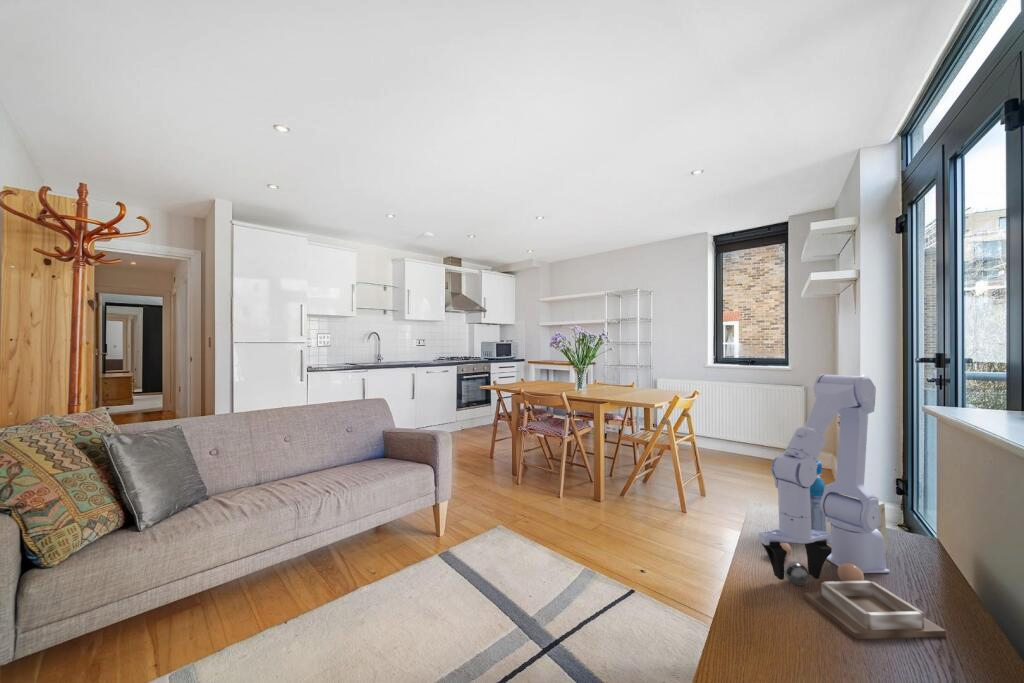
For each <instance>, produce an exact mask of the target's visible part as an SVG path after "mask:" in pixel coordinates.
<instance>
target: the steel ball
mask: <svg viewBox="0 0 1024 683" xmlns="http://www.w3.org/2000/svg"><path fill="white" fill-rule="evenodd" d="M784 577H785V578H786V579H787V580H788V581H789V582H791V583H792V584H794V585H797V586H804V585H805V584H807V583H808V581H809V579H810V574H809V571H808V568H806V567H805V566H804V565H803V564H802V563H801V562H799V561H788V562H787V563H785V564H784Z"/></svg>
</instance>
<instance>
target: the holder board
mask: <svg viewBox="0 0 1024 683" xmlns="http://www.w3.org/2000/svg"><path fill="white" fill-rule="evenodd" d="M820 583H821V591H814V592H811V591H810V592H804V599H806V600H807V601H808V602H809V603H811V604H812V605H813V606H814V607H816V608H817V609H818V610H819V611H820V612H821V613H823V614H824V615H825V616H827V617H828V618H829V619H830V620H832V621H833V622H834V623H835V624H837V626H839V627H840V628H841V629H842V630H843V631H845V632H847V633H848V635H850V636H851V637H853V638H854V639H855V640H867V639H906V638H907V639H909V638H910V639H911V638H912V639H913V638H942V637H943V638H944V637H945V638H946V637H947V630H945V629H944V628H943V627H941V626H939V625H937V624H936V623H934V622H933V621H932V620H929V619H928V618H927V617H924V616H925V614H924V613H925V612H924V611H922V610H920V609H919V608H917V607H915V606H913V605H912V604H910V603H909V602H908V601H906V600H904V599H902V598H901V597H899V596H897V595H896V594H895V593H893V592H891V591H889V590H888V589H887V588H884V587H883V586H881V585H880V584H878V583H876V582H875V581H869V580H864V581H842V580H837V581H836V580H835V581H833V580H831V581H830V580H829V581H823V582H820Z"/></svg>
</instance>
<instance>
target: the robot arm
mask: <svg viewBox="0 0 1024 683" xmlns="http://www.w3.org/2000/svg"><path fill="white" fill-rule="evenodd" d="M876 392H877V389H876V386H875V383H874V382H873V380H872V379H871V378H870V377H869V376H867V375H841V374H840V375H839V374H826V373H822V374H819V375H818V376H817V377H816V379H815V380H814V385H813V393H814V397H815V399H814V403H813V405H812V408H811V410H810V413H809V415H808V417H807V420H806V423H805V425H804V426H802V427H797V428H796V430H795V431H794V433H793V435H792V437H791V439H790V441H789V442H788V445H787V447H786V448H785V450H784V452H783V454H780V455H777V456H776V457H775V458H774V459H773V461H772V464H771V467H770V473H771V476H772V478H773V479H774V486H775V488H777V495H778V497H777V499H778V500H777V501H778V503H777V504H778V528H775V529H772V530H771V529H770V530H767V531H760V532H758V536H759V537H758V538H759V542H760V543H761V545H762V547H763V549H764V550H765V552H766V553H767V555H768V558H769V561H770V564H771V568H772V571H773V574H774V576H775V577H776V578H778V579H779V580H782V581H784V579H785V573H784V567H785V564H786V563H785V561H786V558H785V557H786V554H787V551H785V550H784V549H783V548H782V546H781V545H780V543H788V544H804V548H805V552H806V556H807V571H808V573H809V576H811V577H812V578H814V579H815V580H819V579H820V576H821V572H822V570H823V566H824V564H825V562H826V561H828V562H830V563H831V564H834V565H835V566H837V568H838V567H839V566H840V565H841V564H843V563H851V564H854V565H856V566H857V567H858V568H860V570H861V571H862V572H863V574H878V573H879V574H881V573H883V574H885V573H887V574H888V573H890V572H891V571H890V569H888V568H887V559H886V555H887V554H886V552H885V541H884V538H883V536H882V534H881V533H880V531H879V530H878V529H877V528H878V526H879V525H880V521H881V513H880V510H879V502H880V501H879V500H880V499H879V497H878V496H876V495H875V494H874V493H873V492H872V491H871V490H870V489H869V488H868V487H866V486H865V478H866V477H865V474H866V458H867V456H866V455H867V443H868V442H867V441H868V427H869V426H868V425H869V424H868V423H869V414H871V413H874V412H875V407H876V394H877V393H876ZM837 413H838V414H839V429H838V430H839V431H838V432H839V434H838V445H837V448H838V450H837V462H836V478H835V481H833V482H831V483H828V484H825V487H824V493H823V496H822V498H821V501H820V508H821V511H822V513H823V515H824V516H825V517H826V522H828V523H830V533H829V532H828V531H827V532H826V531H816V530H811V508H810V486H811V485H812V484H813V483H814V481H815V480H816V475H817V467H818V466H817V465H818V464H817V462H816V461H817V460H818V459H819V457H820V455H821V453H822V451H823V449H824V447H825V445H826V443H827V440H826V438H825V436H824V433H825V432H826V430H827V429H828V427H829V426H830V425H831V422H832V421H833V419H834V418H835V416H836V415H837ZM829 544H830V545H831V546H830V545H829Z"/></svg>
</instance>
